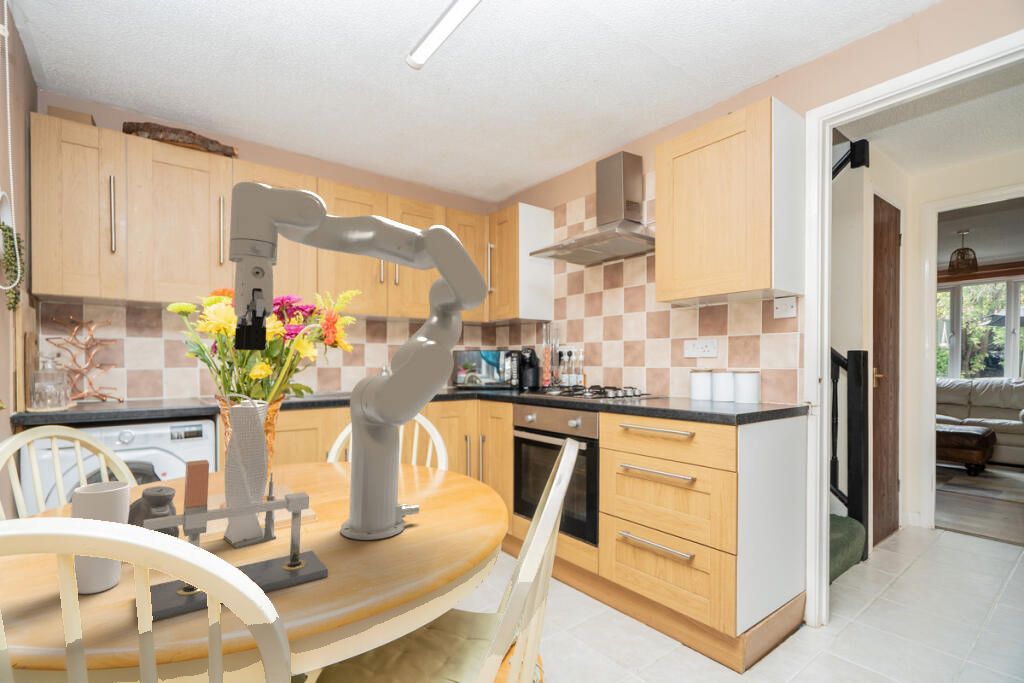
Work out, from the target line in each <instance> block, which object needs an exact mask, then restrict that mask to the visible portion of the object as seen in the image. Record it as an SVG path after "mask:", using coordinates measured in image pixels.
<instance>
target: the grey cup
mask: <svg viewBox="0 0 1024 683" xmlns="http://www.w3.org/2000/svg"><path fill="white" fill-rule="evenodd" d="M130 505H131V483H130V482H128V481H120V480H119V481H116V480H115V481H113V480H112V481H102V482H94V483H90V484H85V485H82V486H79V487H76V488H75V489H73V491H72V499H71V506H70V508H71V509H70V510H71V511H70V519H71V518H83V519H93V520H101V521H109V522H116V523H122V524H128V518H129V510H130ZM74 562H75V573H76V580H77V588H78V593H77V594H79V595H80V594H81V595H91V594H96V593H100V592H104V591H107V590H110V589H111V588H113V587H115V586H116V585H118V584H119V582H120V581H121V575H122V564H123V563H122V562H123V560H122V561H118V560H113V559H108V558H99V557H90V556H80V555H75V556H74Z"/></svg>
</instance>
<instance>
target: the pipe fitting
mask: <svg viewBox="0 0 1024 683" xmlns="http://www.w3.org/2000/svg"><path fill="white" fill-rule="evenodd" d="M175 496H176V489H175V488H173V487H171V486H170V487H169V486H163V485H162V486H152V487H151V486H150V487H146V488H145V489H143V490H142V493H141V497H140V498H138V499H136V500H135V501H133V502H132V503H130V510H129V518H128V524H131V525H136V526H140V527H143V525H144V520H148V519H154V518H161V517H167V516H174V515H177V509H176V506H175V504H174V502H173V499H174V498H175ZM154 531H158V532H161V533H164V534H168V535H171V536H174V537H177V538H179V536H180V528H179V526H173V527H167V528H161V529H155V530H154Z"/></svg>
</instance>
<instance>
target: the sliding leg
mask: <svg viewBox="0 0 1024 683" xmlns="http://www.w3.org/2000/svg"><path fill="white" fill-rule="evenodd" d="M209 473H210V463H209V461H208V460H207V459H202V460H201V459H200V460H192V461H190V460H189V461H186V462H185V478H184V479H185V480H184V481H185V482H184V500H183V501H184V502H183V514H185V525H182V531H183V534H184V535H183V536H184V537H187V540H188V541H187V542H189V543H191V544H193V545H195V546H197V547H199V548H200V542H201V541H200V540H201V534H206V533H207V529H208V528H207V526H208V525H207V523H208V521H207V510H208V501H209V499H208V496H209V479H210V478H209V476H210V475H209ZM187 584H188V583H187ZM188 585H190V584H188Z"/></svg>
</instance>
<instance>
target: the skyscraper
mask: <svg viewBox="0 0 1024 683" xmlns="http://www.w3.org/2000/svg"><path fill="white" fill-rule="evenodd" d="M224 397H225V398H224V399H225V401H226V405H227V408H228V414H229V421H230V428H231V433H230V437H229V441H228V444H227V449H226V456H225V461H224V494H225V496H224V497H225V505H226V506H225V508H227V507H234V506H240V505H247V504H254V503H260V502H264V501H263V500H264V497H265V491H266V487H267V482H268V481H267V479H268V474H269V472H268V469H269V454H268V444H267V439H266V435H265V434H266V433H265V429H264V426H265V421H266V418H267V414H268V410H269V407H270V403H269V402H268V401H266V400H261V399H252V398H251V397H249V396H247V395H245V394H240V393H227V394H226V395H225V396H224ZM229 397H240V398H243V399H244V400H241V401H240V404H235V405H232V406H231V402H230V400H229ZM245 399H246V400H245ZM273 473H274V472H272V471H271V472H270V481H269V482H268V483H269V484H268V494H267V495H266V502H267V501H274V500H275V498H276V497H275V496H276V495H275V494H274V481H273ZM260 513H261V512H259V513H253V514H247V515H241V516H235V517H229V518H227V519H228V523H227V526H226V529H225V531H224V534H223V539H224V540H225V541H226V542H227V543H229V544H230V546H233V547H234V548H235V549H240V548H245V547H248V546H252V545H256V544H261V543H265V542H269V541H271V540H276V538H277V536H276V535H275V510H272V511H266V512H265V518H264V522H265V523H264V525H265V526H264V527H262V526H261V525H260V522H259V516H260Z"/></svg>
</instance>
